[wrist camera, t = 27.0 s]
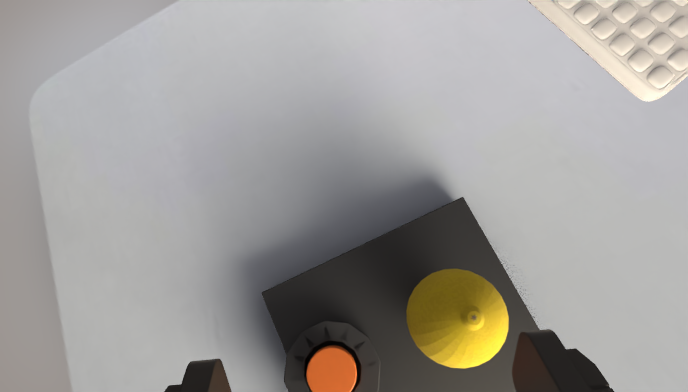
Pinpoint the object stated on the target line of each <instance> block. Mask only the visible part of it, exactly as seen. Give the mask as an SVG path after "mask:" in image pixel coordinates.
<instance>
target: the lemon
mask: <svg viewBox="0 0 688 392" xmlns="http://www.w3.org/2000/svg"><path fill="white" fill-rule="evenodd" d="M406 312H407V325H408V328H409V332H410V335H411V337H412V338H413V340H414V342H415V344H416V346H417V347H418V348H419V349H420V350H421V351H422V352H423V353H424V354H425V355H426V356H427V357H429V358H430V359H432V360H433V361H435V362H436V363H439V364H442V365H445V366H447V367H450V368H469V367H475V366H479V365H480V364H482V363H484V362H486V361H488V360H490V359H491V358H492V357H493V356H494V355H495V354H496V353H497V352H498V351H499V350H500V348H501V347H502V345H503V343H504V342H505V339H506V336H507V332H508V321H509V317H508V313H507V308H506V305H505V303H504V301H503V299H502V296H501V295H500V294H499V292H498V291H497V290H496V289H495V287H494V286H493V285H492V284H491V283H490V282H488V281H487V280H486V279H484V278H483V277H482V276H479V275H477V274H475V273H473V272H471V271H467V270H461V269H444V270H440V271H437V272H434V273H432V274H430V275H429V276H427V277H426V278H424V279H423V280H421V281H420V283H419V284H418V285H417V286H416V287H415V288H414V290H413V292H412V294H411V296H410V298H409V301H408V306H407V310H406Z"/></svg>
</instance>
